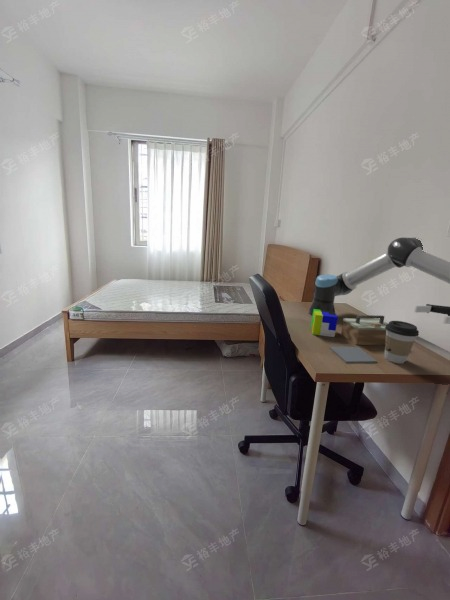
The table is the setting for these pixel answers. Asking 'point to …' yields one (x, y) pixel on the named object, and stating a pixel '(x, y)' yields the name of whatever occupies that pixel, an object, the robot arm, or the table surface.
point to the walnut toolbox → (365, 330)
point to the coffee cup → (399, 340)
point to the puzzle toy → (324, 322)
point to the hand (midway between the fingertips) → (429, 314)
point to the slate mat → (353, 355)
